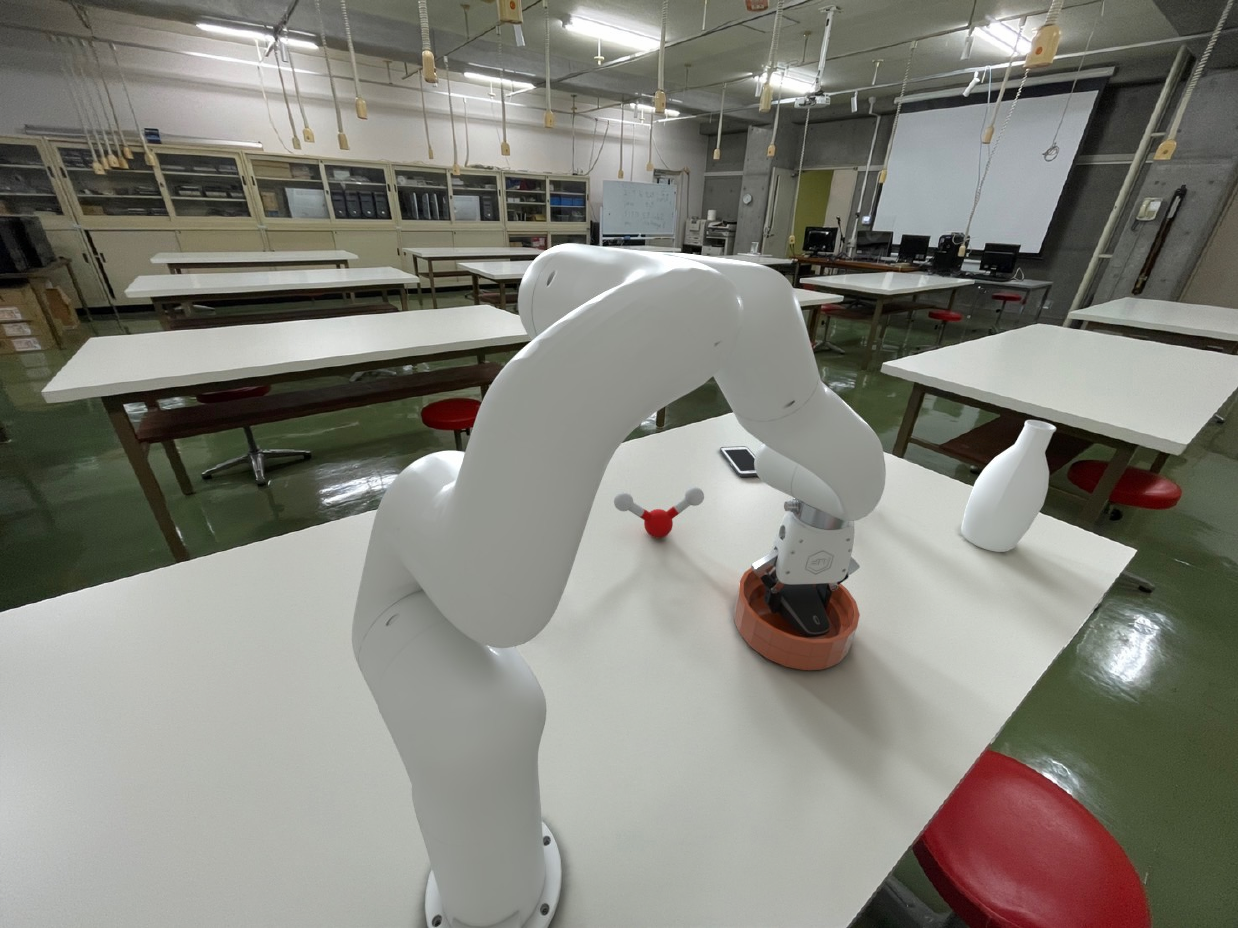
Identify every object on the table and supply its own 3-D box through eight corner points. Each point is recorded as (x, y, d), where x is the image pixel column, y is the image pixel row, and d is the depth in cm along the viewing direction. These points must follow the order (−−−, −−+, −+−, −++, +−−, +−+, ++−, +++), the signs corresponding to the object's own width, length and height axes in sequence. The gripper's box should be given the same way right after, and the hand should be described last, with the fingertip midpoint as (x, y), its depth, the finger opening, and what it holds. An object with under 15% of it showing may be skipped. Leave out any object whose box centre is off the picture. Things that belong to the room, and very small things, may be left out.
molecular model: (691, 520, 103) (696, 478, 99) (703, 536, 98) (710, 493, 94) (610, 532, 99) (612, 489, 94) (618, 550, 94) (620, 505, 89)
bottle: (965, 550, 98) (1020, 432, 85) (946, 519, 107) (993, 409, 95) (1029, 561, 95) (1094, 441, 83) (1004, 528, 105) (1060, 416, 93)
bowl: (871, 668, 72) (883, 639, 69) (755, 676, 70) (762, 646, 67) (817, 585, 87) (825, 558, 84) (720, 589, 85) (725, 562, 82)
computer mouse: (798, 642, 71) (804, 622, 69) (755, 584, 81) (759, 565, 79) (840, 633, 72) (847, 613, 70) (793, 578, 83) (798, 559, 81)
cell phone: (745, 449, 134) (746, 445, 133) (769, 476, 121) (770, 472, 121) (718, 450, 132) (719, 446, 132) (739, 477, 120) (739, 474, 119)
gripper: (770, 526, 64) (748, 627, 72) (897, 522, 66) (861, 621, 74) (750, 495, 70) (732, 591, 79) (866, 492, 72) (836, 586, 81)
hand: (795, 605), depth 76 cm, fingers closed on computer mouse, 7 cm apart
